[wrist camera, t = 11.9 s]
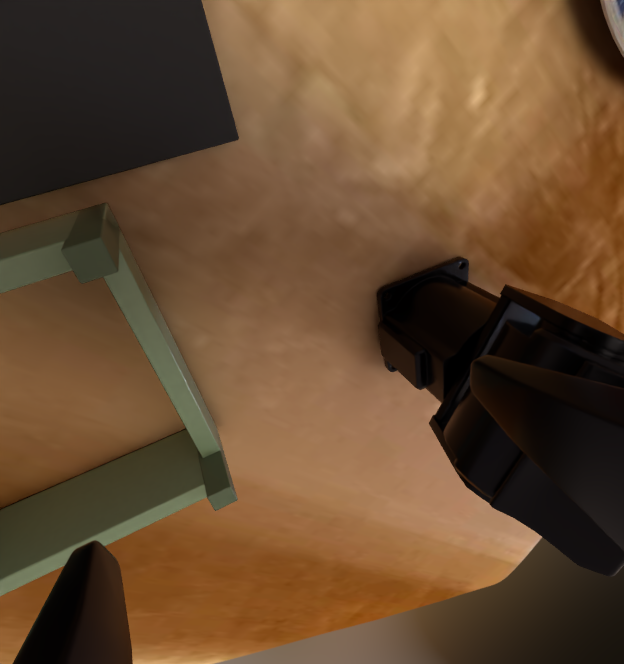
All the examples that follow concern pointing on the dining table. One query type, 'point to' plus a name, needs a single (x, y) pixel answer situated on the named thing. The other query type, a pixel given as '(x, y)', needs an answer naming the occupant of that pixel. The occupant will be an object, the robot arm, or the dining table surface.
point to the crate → (130, 470)
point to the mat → (104, 89)
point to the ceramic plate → (615, 20)
